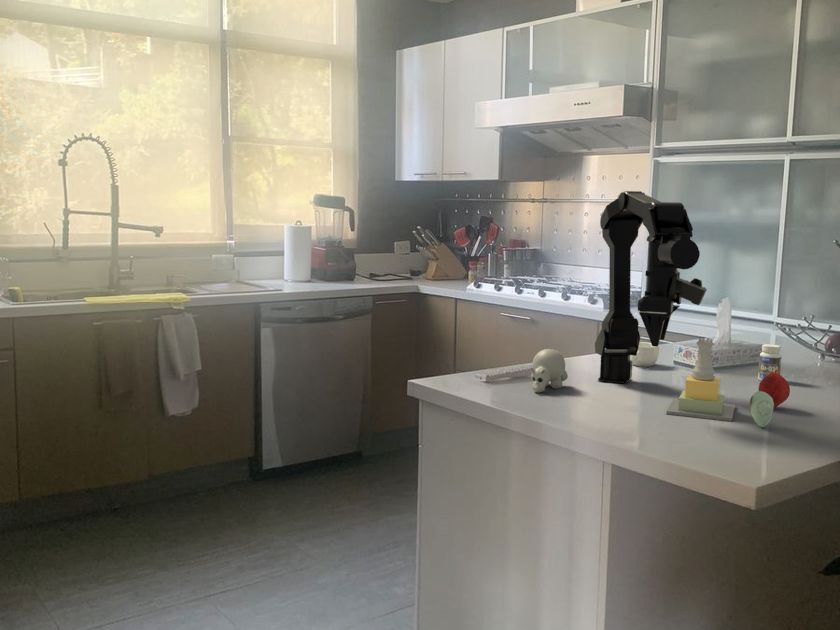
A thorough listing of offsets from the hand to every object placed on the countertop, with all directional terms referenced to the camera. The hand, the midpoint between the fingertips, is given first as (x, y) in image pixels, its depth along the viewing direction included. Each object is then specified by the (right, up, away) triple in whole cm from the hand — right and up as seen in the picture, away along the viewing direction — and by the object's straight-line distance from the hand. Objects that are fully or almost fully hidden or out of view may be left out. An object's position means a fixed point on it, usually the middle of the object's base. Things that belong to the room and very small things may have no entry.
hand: (658, 342), depth 162 cm
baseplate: (+8, -14, -2) cm, 16 cm away
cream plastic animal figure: (-20, -11, +16) cm, 28 cm away
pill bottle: (+34, -10, +28) cm, 45 cm away
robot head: (+15, -15, -13) cm, 25 cm away
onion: (+24, -14, +1) cm, 27 cm away
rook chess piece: (+8, -7, -3) cm, 11 cm away
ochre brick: (+8, -11, -2) cm, 13 cm away
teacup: (+9, -8, +44) cm, 45 cm away
